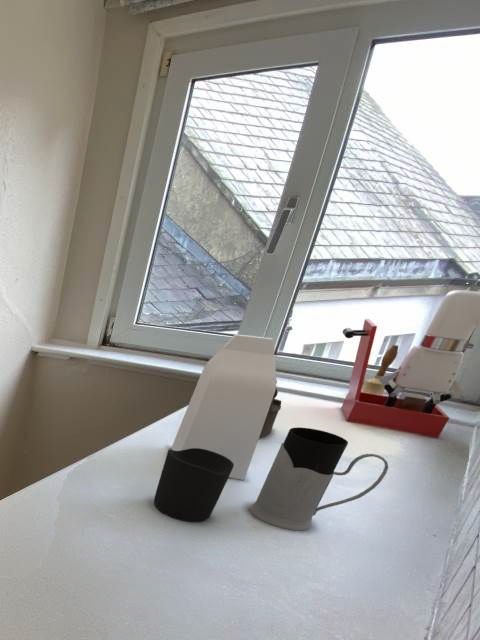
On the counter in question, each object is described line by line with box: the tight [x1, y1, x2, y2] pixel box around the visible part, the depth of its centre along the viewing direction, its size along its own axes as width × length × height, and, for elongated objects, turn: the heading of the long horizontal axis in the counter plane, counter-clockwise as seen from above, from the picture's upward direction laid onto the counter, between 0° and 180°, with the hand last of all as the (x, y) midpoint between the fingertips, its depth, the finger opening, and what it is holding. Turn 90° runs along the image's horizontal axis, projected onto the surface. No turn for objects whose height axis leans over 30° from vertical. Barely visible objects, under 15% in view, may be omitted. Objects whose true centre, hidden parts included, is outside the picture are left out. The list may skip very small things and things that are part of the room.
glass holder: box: [249, 427, 389, 531], centre depth 89 cm, size 9×14×15 cm, turn 60°
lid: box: [342, 318, 378, 400], centre depth 143 cm, size 18×14×5 cm
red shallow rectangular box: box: [340, 389, 450, 439], centre depth 142 cm, size 18×14×5 cm
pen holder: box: [153, 448, 234, 523], centre depth 92 cm, size 9×9×10 cm
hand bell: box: [361, 344, 399, 396], centre depth 159 cm, size 8×8×16 cm
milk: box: [171, 333, 278, 481], centre depth 108 cm, size 12×12×26 cm
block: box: [394, 391, 428, 412], centre depth 140 cm, size 4×5×7 cm
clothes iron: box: [259, 381, 282, 439], centre depth 129 cm, size 8×16×13 cm, turn 140°
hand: (404, 413), depth 141 cm, fingers open, 6 cm apart
